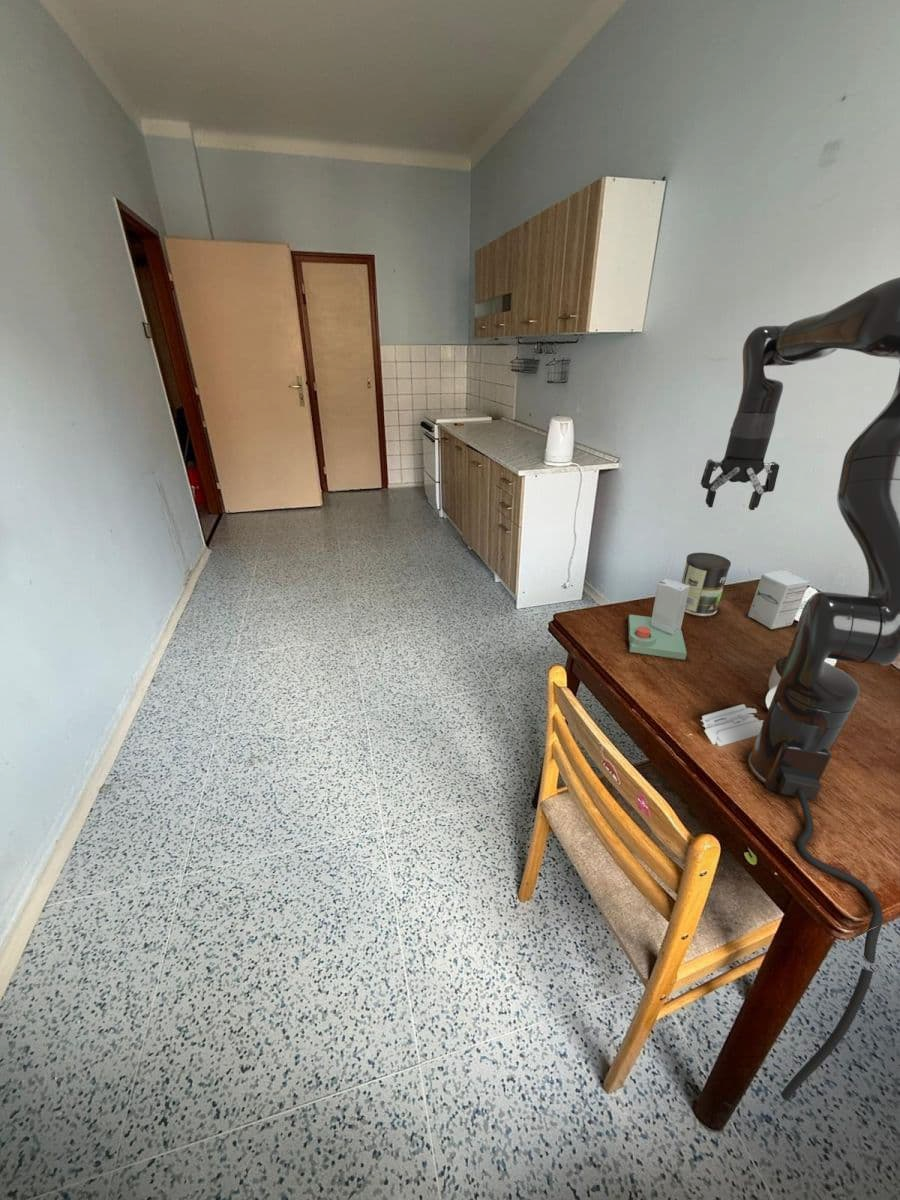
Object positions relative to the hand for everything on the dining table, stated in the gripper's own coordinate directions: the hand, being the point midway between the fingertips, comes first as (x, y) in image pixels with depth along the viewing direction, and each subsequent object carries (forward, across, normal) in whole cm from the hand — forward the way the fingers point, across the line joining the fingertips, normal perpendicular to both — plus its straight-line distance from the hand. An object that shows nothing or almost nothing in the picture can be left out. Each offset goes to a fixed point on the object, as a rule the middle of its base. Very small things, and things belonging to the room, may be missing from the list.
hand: (730, 507), depth 108 cm
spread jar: (+30, +12, -31) cm, 45 cm away
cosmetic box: (+29, -10, -9) cm, 32 cm away
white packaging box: (+31, +17, +5) cm, 35 cm away
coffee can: (+31, 0, +8) cm, 32 cm away
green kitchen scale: (+30, -12, -12) cm, 35 cm away
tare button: (+27, -15, -17) cm, 35 cm away
